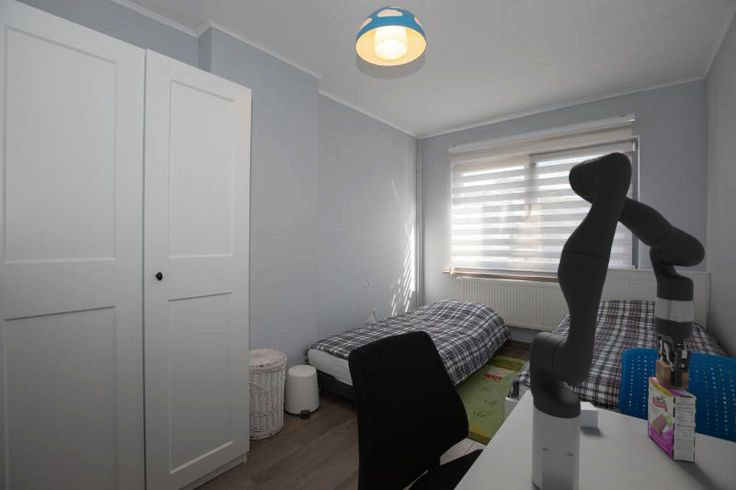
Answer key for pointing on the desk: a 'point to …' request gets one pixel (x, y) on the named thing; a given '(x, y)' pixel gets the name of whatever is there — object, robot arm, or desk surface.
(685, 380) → the walnut block
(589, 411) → the grey block
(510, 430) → the desk surface
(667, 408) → the candy bar box
